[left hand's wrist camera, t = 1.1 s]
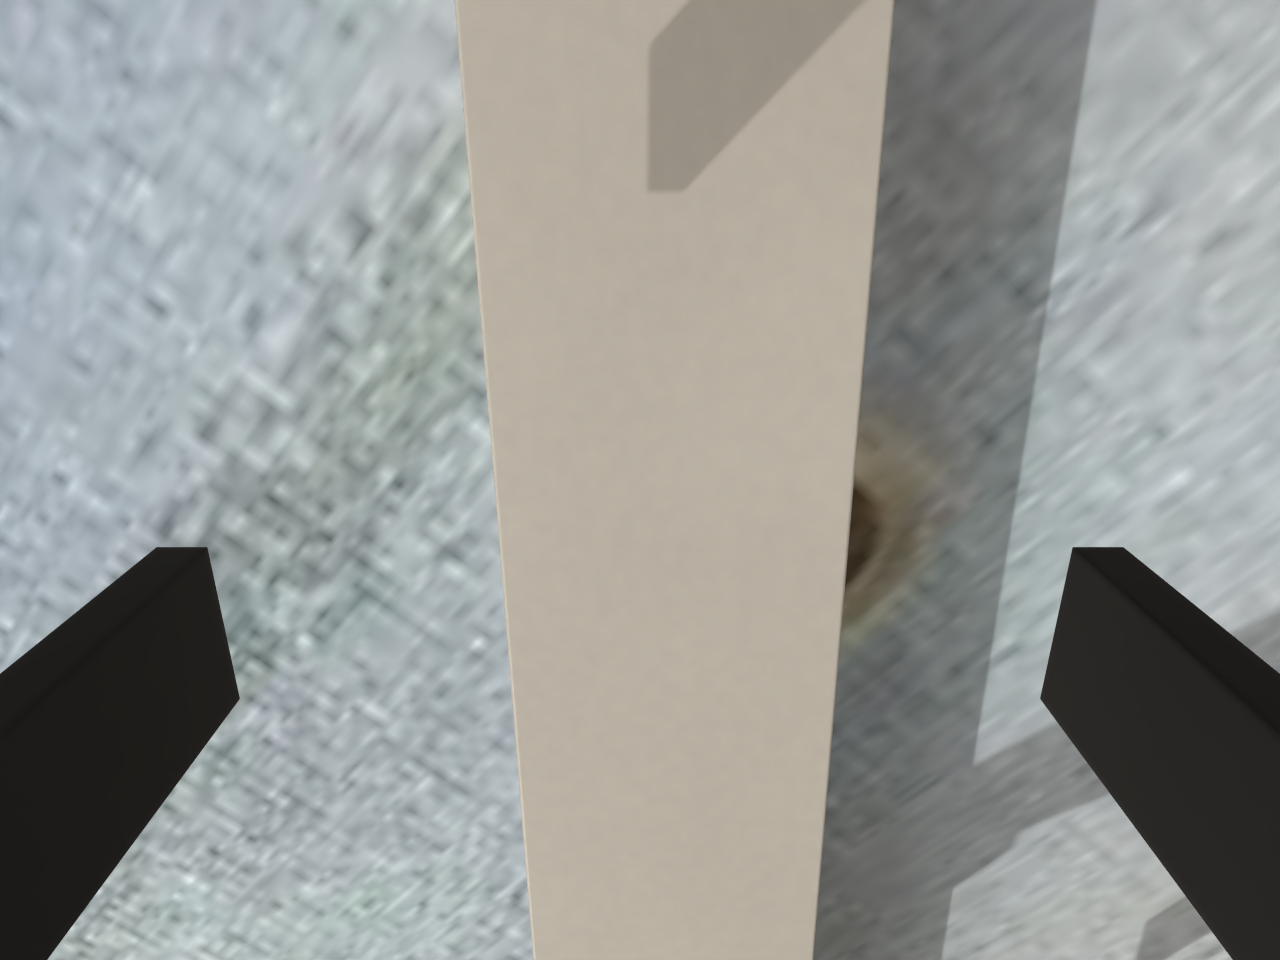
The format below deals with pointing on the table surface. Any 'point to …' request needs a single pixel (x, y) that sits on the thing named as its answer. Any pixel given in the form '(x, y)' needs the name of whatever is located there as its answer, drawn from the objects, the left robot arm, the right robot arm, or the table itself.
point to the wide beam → (674, 444)
